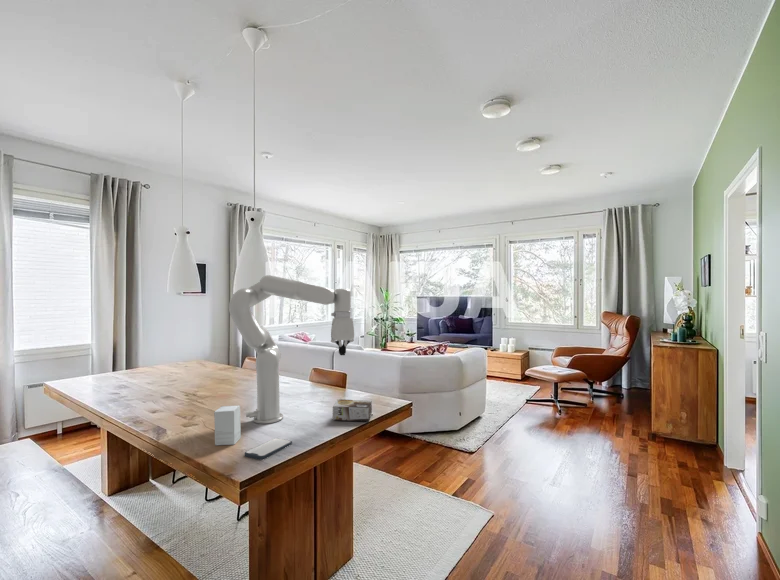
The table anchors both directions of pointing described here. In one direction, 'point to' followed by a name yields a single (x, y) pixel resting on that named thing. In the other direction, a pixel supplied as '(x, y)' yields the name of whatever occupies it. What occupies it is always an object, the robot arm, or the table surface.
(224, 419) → the supplement box
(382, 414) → the table surface
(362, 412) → the coffee box
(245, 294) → the robot arm
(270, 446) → the phone case
